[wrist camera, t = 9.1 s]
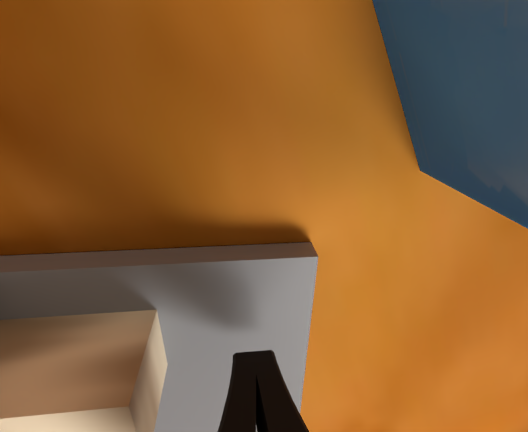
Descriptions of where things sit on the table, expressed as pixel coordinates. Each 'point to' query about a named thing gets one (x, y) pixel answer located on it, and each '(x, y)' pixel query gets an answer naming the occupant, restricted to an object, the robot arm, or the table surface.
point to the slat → (81, 373)
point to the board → (183, 311)
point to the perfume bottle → (465, 93)
